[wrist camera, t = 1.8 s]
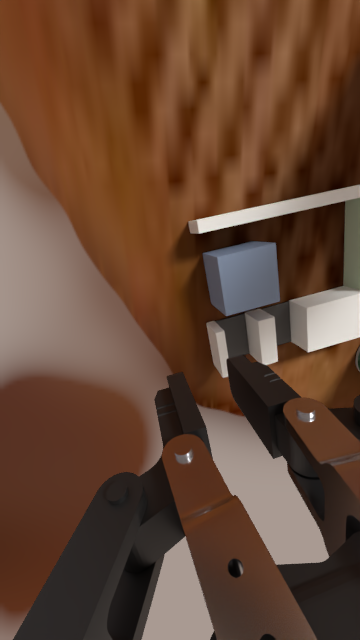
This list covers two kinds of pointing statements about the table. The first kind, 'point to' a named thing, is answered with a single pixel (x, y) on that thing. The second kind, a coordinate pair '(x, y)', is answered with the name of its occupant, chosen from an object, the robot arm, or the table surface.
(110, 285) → the table surface
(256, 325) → the white open shelf
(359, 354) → the canned tomato
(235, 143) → the table surface
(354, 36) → the table surface
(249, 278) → the block
